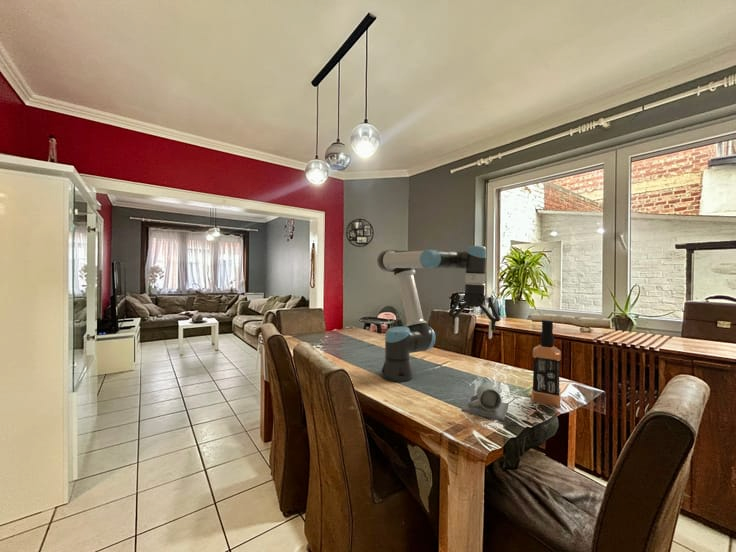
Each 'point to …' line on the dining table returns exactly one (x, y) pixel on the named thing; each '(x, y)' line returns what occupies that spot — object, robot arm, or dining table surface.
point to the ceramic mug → (486, 398)
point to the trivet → (479, 410)
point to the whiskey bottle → (546, 368)
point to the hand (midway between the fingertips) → (472, 335)
